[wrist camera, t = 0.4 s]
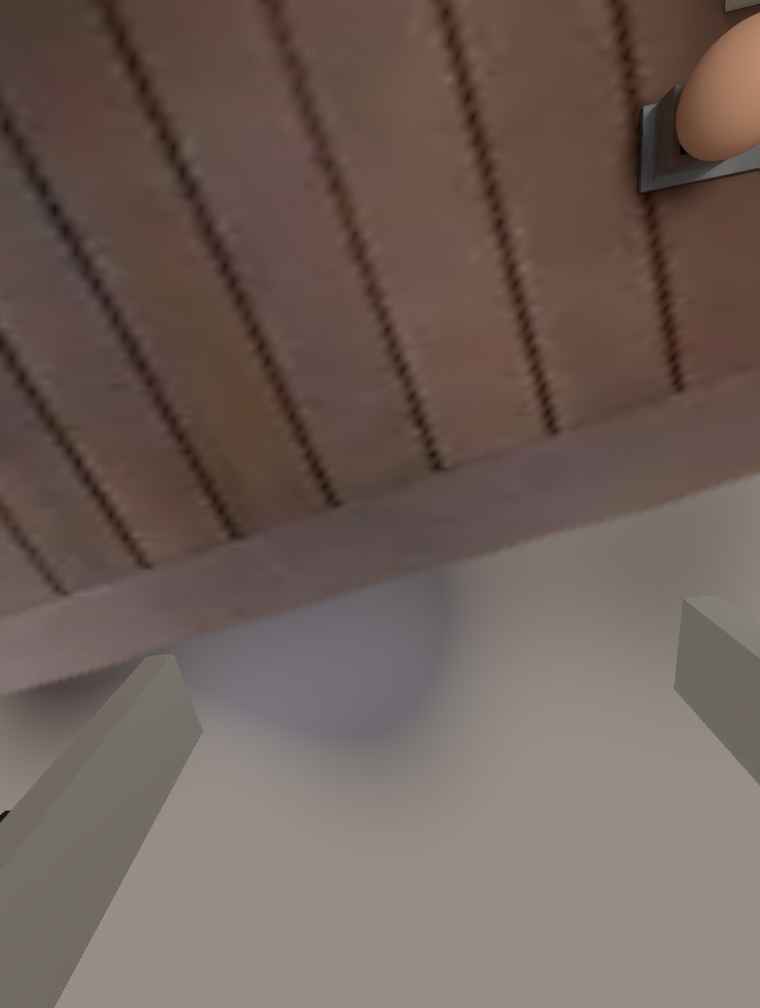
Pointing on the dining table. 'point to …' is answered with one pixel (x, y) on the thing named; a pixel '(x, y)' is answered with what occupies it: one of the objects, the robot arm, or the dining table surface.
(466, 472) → the dining table surface
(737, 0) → the open square box
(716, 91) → the ball terracotta
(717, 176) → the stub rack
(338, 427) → the dining table surface
